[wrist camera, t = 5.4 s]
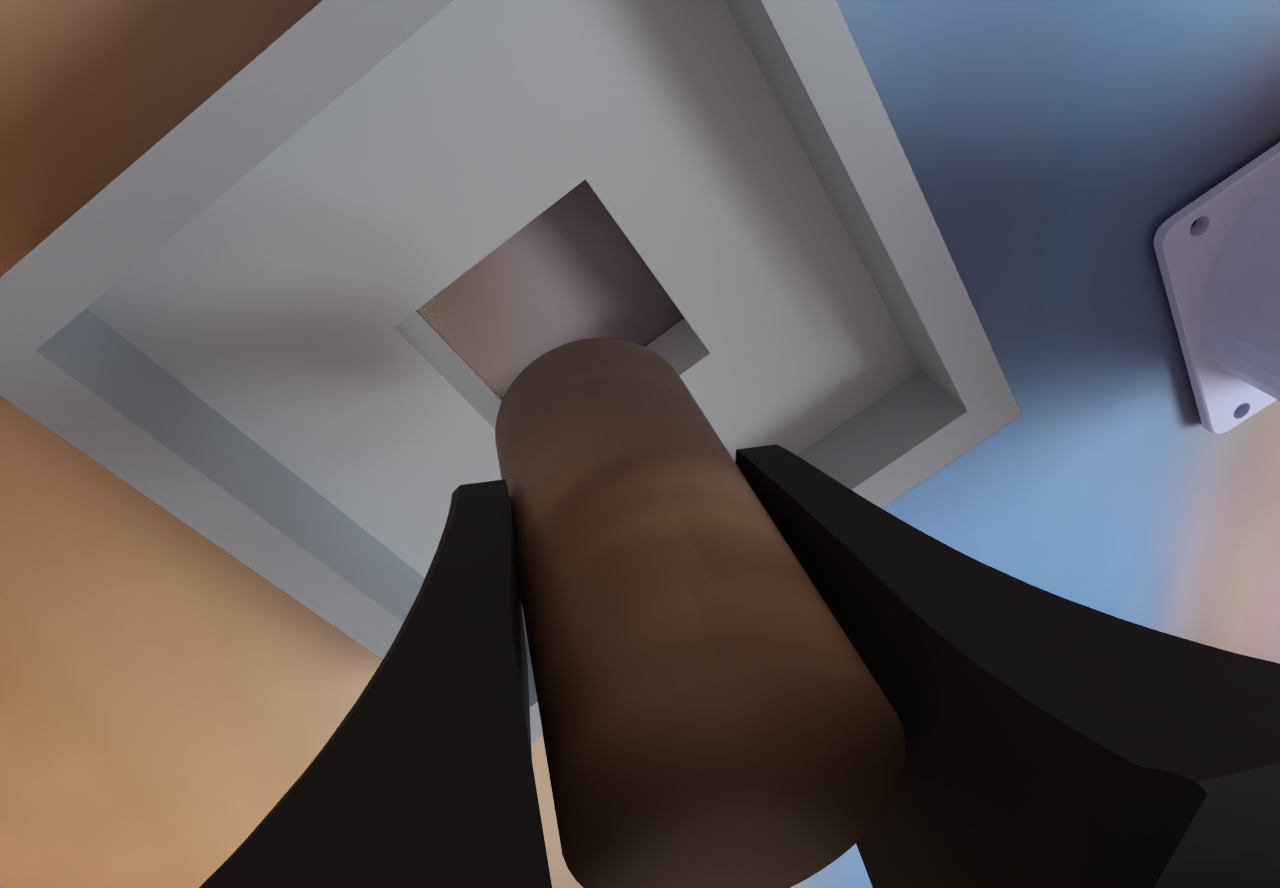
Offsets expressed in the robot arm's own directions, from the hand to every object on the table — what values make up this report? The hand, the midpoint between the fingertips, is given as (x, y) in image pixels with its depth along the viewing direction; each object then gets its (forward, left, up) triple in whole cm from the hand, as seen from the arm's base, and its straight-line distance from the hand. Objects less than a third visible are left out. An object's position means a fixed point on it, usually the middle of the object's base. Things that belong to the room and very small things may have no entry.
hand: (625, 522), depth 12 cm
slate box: (0, 0, -8) cm, 8 cm away
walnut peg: (0, 0, -2) cm, 2 cm away
